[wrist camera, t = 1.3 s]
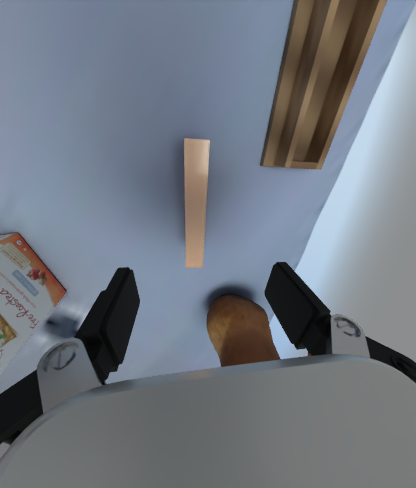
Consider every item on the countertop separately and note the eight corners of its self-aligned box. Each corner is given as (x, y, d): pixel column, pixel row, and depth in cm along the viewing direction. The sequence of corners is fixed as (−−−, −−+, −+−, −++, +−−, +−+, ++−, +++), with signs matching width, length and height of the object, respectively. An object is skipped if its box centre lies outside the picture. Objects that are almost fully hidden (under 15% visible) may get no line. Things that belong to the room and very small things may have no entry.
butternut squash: (199, 316, 43) (215, 482, 22) (209, 280, 36) (244, 467, 15) (247, 316, 46) (302, 462, 25) (263, 282, 39) (358, 442, 18)
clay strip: (183, 140, 22) (183, 138, 15) (201, 142, 22) (209, 140, 16) (185, 240, 30) (186, 267, 23) (198, 240, 31) (202, 267, 24)
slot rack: (315, -101, 14) (357, -179, 11) (399, -73, 15) (460, -136, 12) (260, 165, 25) (272, 168, 21) (311, 168, 26) (331, 171, 23)
